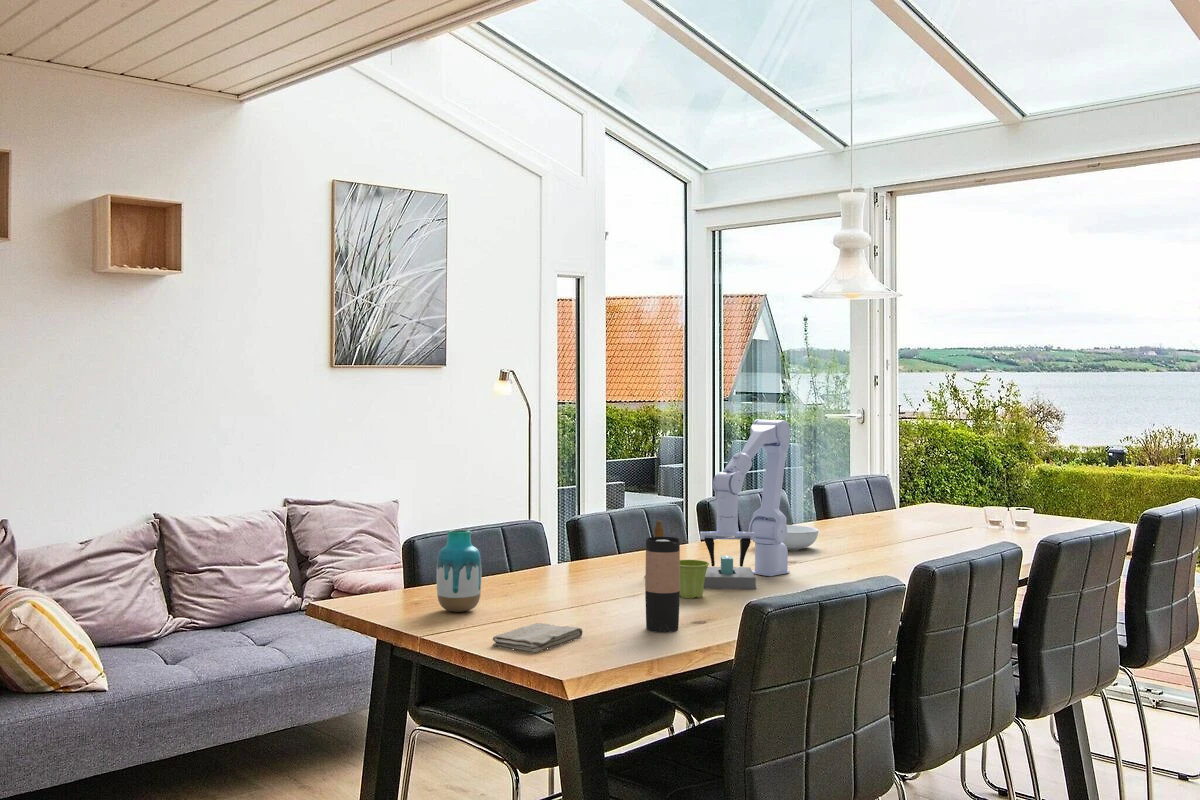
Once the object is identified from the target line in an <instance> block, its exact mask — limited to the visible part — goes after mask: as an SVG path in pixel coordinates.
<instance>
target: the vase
mask: <svg viewBox="0 0 1200 800" xmlns="http://www.w3.org/2000/svg"><path fill="white" fill-rule="evenodd" d="M471 535H472V534H471V530H468V529H449V530H448V531H447V540H446V544H445V546H444V547H441V549H440V550H439V551H438V554H437V559H436V596H437V599H438V603H439V605H440V606H441V607H442V608H443V609H444V610H447V611H449V612H453V613H454V612H456V613H461V612H467V611H471V610H473V609H475V608H476V607H477V605H478V604H479V602H480V598H481V593H482V560H481V559H482V558H481V557H482V556H481V553H480V551H479V549H478V548H477V547H475V546H474V545H473V544H472V537H471Z"/></svg>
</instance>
